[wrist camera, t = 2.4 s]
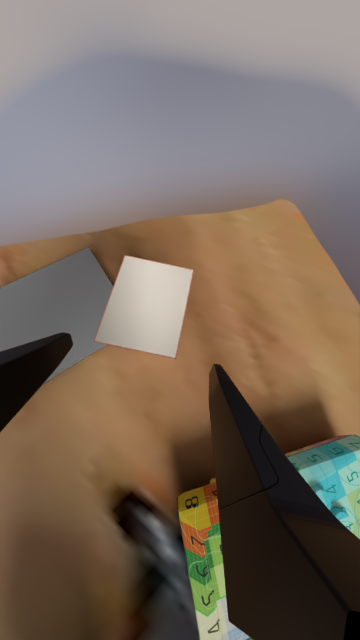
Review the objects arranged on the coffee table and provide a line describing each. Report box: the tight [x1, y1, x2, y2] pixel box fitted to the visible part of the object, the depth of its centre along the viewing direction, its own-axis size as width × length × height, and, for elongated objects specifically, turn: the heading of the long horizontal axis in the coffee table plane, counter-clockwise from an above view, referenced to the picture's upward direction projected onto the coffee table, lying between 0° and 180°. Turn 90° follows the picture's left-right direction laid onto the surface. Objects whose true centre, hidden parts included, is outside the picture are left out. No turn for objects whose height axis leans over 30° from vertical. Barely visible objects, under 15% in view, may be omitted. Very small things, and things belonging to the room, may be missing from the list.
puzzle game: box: [177, 435, 360, 640], centre depth 13 cm, size 12×5×20 cm
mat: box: [0, 247, 113, 384], centre depth 18 cm, size 24×14×1 cm, turn 124°
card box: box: [93, 255, 194, 359], centre depth 13 cm, size 5×4×12 cm
